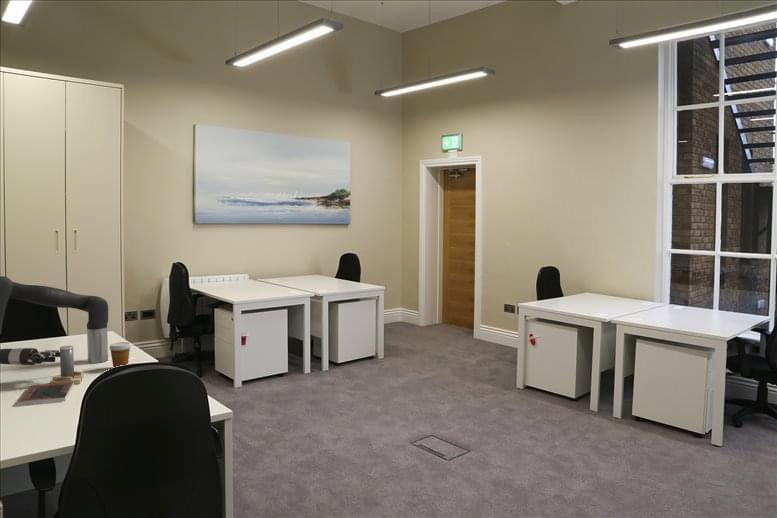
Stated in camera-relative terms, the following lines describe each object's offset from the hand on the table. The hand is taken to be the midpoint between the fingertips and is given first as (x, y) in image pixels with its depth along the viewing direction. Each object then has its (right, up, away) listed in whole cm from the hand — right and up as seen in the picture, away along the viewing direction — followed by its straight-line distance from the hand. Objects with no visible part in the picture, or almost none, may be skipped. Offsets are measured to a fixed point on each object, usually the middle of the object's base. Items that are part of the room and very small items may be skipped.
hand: (60, 356), depth 248 cm
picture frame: (+5, -14, -17) cm, 23 cm away
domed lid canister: (+3, -9, +1) cm, 10 cm away
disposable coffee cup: (+15, -10, +24) cm, 30 cm away
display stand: (+3, -11, +1) cm, 12 cm away
